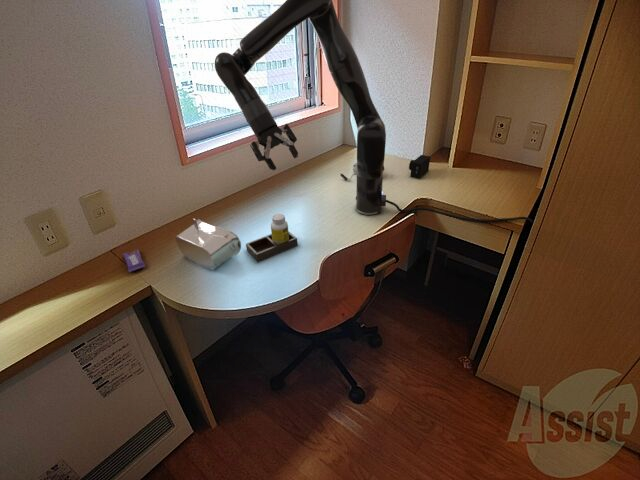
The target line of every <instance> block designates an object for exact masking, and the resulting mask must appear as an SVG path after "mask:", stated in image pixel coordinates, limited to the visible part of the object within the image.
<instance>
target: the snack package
mask: <svg viewBox="0 0 640 480" xmlns="http://www.w3.org/2000/svg"><path fill="white" fill-rule="evenodd" d="M122 256H123V257H124V259H125V263H126V266H127V272H128V273H131V272H134V271H137V270H139V269H143V268H145V267H146V264H145V263H144V261H143V259H142V256H141V253H140V249H139V248H136V249H133V250H131V251H127V252H124V253H122Z"/></svg>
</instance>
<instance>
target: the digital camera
mask: <svg viewBox="0 0 640 480" xmlns="http://www.w3.org/2000/svg"><path fill="white" fill-rule="evenodd" d="M430 162H431V156H430V155H424V154H420V155H419V156H417V158H415V159H411V160H410V162H409V164H408V170H409V171H410V174H409V175H410V177H409V178H413V179H417V180H420V179H422V177H423V176H424V175H426V174H427V173H428V172H429V170H430Z"/></svg>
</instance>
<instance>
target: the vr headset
mask: <svg viewBox="0 0 640 480" xmlns="http://www.w3.org/2000/svg"><path fill="white" fill-rule="evenodd" d="M192 221H193V224H191V225H190V226H189V227H188V228H186V229H185V230H183V231H182V232H180V233H178V234H177V235H176V236H175V242H176V245H177V247H178V249H179V251H180V252H181V254H182V255H183V256H184V258H186V259H188V260H190V261H192V262H193V263H195V264H197V265H200V266H202V267H203V268H207V269H209V270H210V271H211V270H212V271H214V270H215V269H217V268H218V267H220V266H221V265H222V264H224V263H225V262H227V261H228V260H229V259H231V258H232V257H234V256H237V255H238V254H239V253H240V252H241V249H242V242H241V239H240V238H239V236H238V234H236V233H235V232H233V231H232V230H228V229H226V228H222V227H219V226H215V225H212V224H209V223H206V222H205V221H203V220H202V219H201V218H198V219H196V218H193V217H192Z"/></svg>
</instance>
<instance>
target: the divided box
mask: <svg viewBox="0 0 640 480" xmlns="http://www.w3.org/2000/svg"><path fill="white" fill-rule="evenodd" d="M288 232H289V240H288V241H286V242H283V243H281V244H279V245H277V244H276V243H275V242H273V241H272V233H270V234H267V235H264V236H262V237H260V238H257V239H254V240H252V241H249V242H246V243H245V249H246V252H247V253H248V254H249V255H250V256H251V257H252V258H253V259H254V260H255V261H256V263H260V262H264V261H265V260H268V259H270V258H273V257H275V256H278V255H279V254H282V253H284V252H287V251H289V250H291V249H292V250H293V249H294V248H297V247H298V246H299V244H298V238H297V237H296V236H295V235H294V234H292V232H290V231H289V230H288Z"/></svg>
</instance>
